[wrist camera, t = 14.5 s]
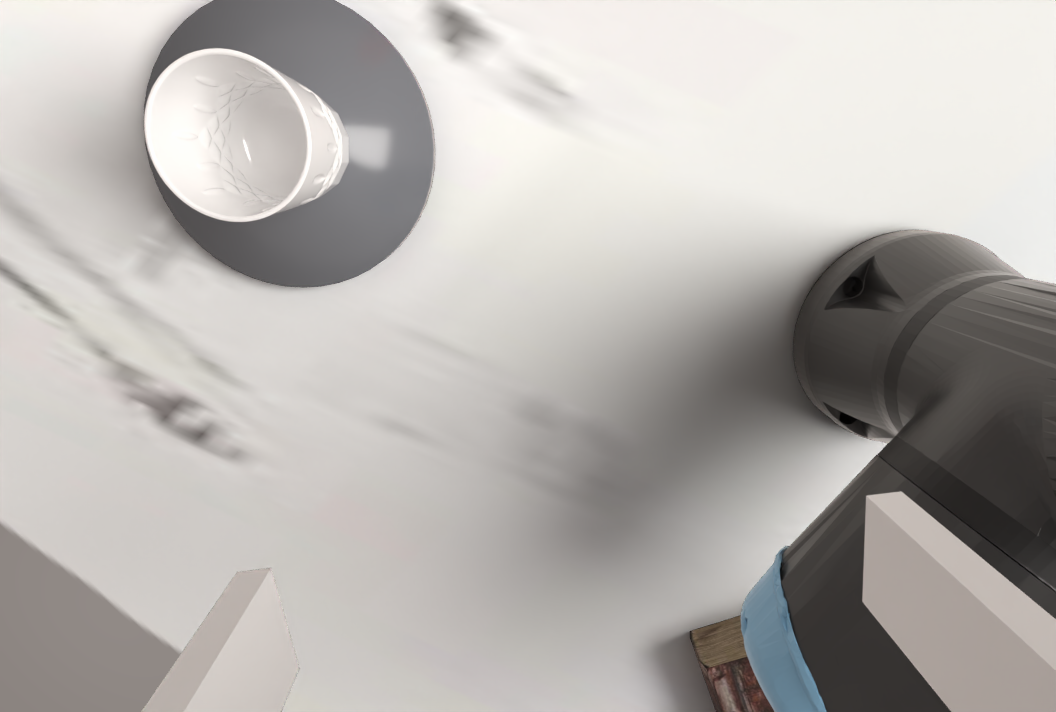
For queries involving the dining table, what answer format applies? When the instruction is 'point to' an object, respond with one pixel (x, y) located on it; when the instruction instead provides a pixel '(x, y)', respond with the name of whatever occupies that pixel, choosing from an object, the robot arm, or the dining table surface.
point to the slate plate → (368, 117)
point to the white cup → (241, 136)
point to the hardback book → (728, 668)
